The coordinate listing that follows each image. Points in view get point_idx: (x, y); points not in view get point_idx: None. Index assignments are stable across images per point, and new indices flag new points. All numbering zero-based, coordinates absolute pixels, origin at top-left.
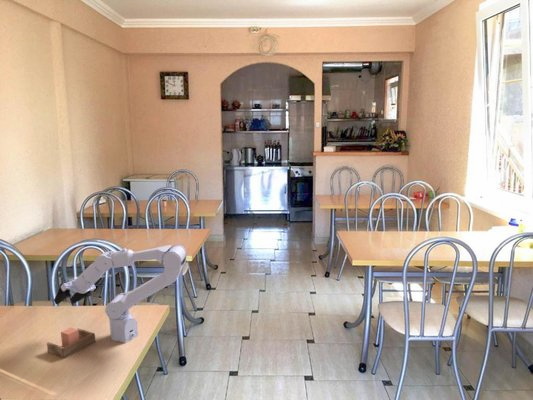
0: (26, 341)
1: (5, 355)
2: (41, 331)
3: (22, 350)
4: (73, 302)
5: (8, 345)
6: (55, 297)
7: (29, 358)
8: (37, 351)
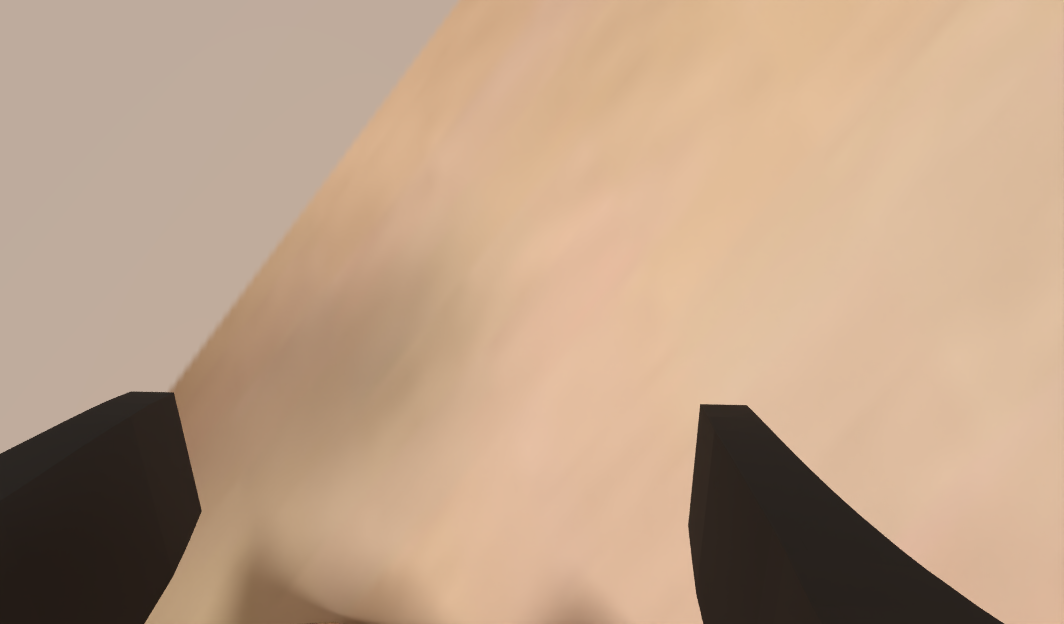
0: (481, 188)
1: (268, 265)
2: (685, 113)
3: (352, 312)
4: (695, 555)
5: (391, 127)
6: (63, 435)
7: (261, 501)
8: (365, 459)
